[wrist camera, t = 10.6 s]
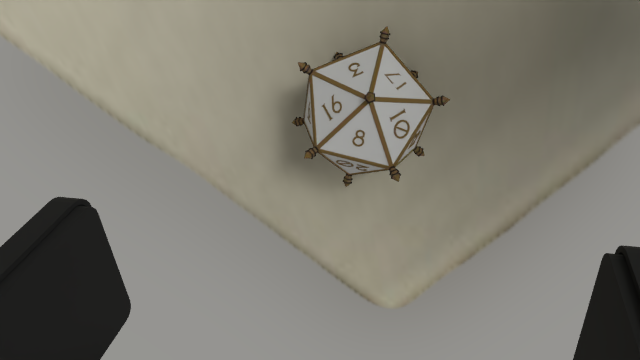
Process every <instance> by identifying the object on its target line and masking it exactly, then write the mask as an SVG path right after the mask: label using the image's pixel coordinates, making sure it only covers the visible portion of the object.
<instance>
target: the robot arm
mask: <svg viewBox="0 0 640 360" xmlns="http://www.w3.org/2000/svg"><path fill="white" fill-rule="evenodd" d="M130 309H131V304H130V299H129V297H128V294H127V291H126V289H125V286H124V283H123V280H122V278H121V275H120V272H119V269H118V267H117V264H116V261H115V259H114V256H113V253H112V250H111V247H110V245H109V242H108V239H107V237H106V234H105V231H104V229H103V226H102V223H101V220H100V218H99V215H98V213H97V211H96V209H94V208H93V207H91V205H90V203H89V202H88V201H87V200H84V199H76V198H65V197H57V198H54V199H52V200H51V201H50V202H48V203H47V204H46V205H45V206H44V207H43V208H42V209H41V210H40V211H39V212H38V213H37V214H36V215H34V216H33V217H32V218H31V219H30V220H29V221H28V222H27V223H26V224H25V225H24V226H23V227H22V228H20V229H19V230H18V231H17V232H16V233H15V234H14V235H13V236H12V237H11V238H10V239H9V240H8V241H6V242H5V243H4V244H3V245H2V246H1V247H0V360H100V359H101V357H102V356H103V354H104V353H105V351H106V350H107V349H108V347H109V345H110V344H111V343H112V341H113V340H114V338H115V337H116V335H117V334H118V332H119V331H120V329H121V327H122V326H123V325H124V323H125V322H126V320H127V318H128V317H129V314H130ZM573 360H640V247H632V246H619V247H618V249H617V250H616V252H615V254H609V253H606V254H604V256H603V258H602V261H601V265H600V268H599V272H598V275H597V278H596V282H595V285H594V289H593V292H592V296H591V299H590V303H589V306H588V310H587V313H586V317H585V320H584V324H583V327H582V331H581V334H580V338H579V341H578V344H577V348H576V352H575V355H574V358H573Z"/></svg>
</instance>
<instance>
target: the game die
mask: <svg viewBox="0 0 640 360" xmlns="http://www.w3.org/2000/svg"><path fill="white" fill-rule="evenodd" d="M380 33H381V36H379V37H380V42H379V43H376V44H374V45H371V46H369V47H366V48H364V49H361V50H359V51H356V52H354V53H351V54H349V55H347V56H342V55H343V54H342V53H338V52H336V55H335V56H334V58H335V60H334V61H332V62H329V63H327V64H324V65H322V66H320V67H317V68H315V69H311V68H310V66H309V65H307V63H306V62H305V63H300V62H298V65H299V67H300V71H303V73H307V74H308V75H309V79H308V87H307V95H306V102H305V110H304V118H301V117H299V118H297V117H296V119H295V120H294V121H293V122H292V123H293V124H295V125H296V126H299V125H300V126H301V125H303V124H305V126H306V129H307V131H308V134H309V136H310V139H311V141H312V144H313V146H314V147H313V148H310V149H309V150H307V151H305V152H306V154H305V157H304V158H311V159H313V157H314V156H316V153H317V152H318V153H319V154H321V155H322V156H323V157H325V158H326V159H327V160H329V161H330V162H332V163H333V164H334V165H336V166H337V167H338V168H340V169H341V170H342V171H344V172H345V173H346V176H345V177H344V180H343V182H344V184H345V186H346V187H347V186H348V185H349V184H351V183H352V182H351V180H352V175H355V174H363V173H370V172H377V171H385V170H390V174H389V175H391V179H394V180H396V181H398V182H399V178H400V175H401V174H400V173H399V171H398V170H397V169H396V168H395V167H396V166H397V165H398V164H399V163H400V162H401V161H402V160H403V159H404V158H406V157H407V156H408V155H409V154H410V153H411V152H412V151H414V153H415V154H417V155H418V156H424V152H423V148H421V147H417V144H418V141H419V139H420V137H421V134H422V132H423V130H424V127H425V125H426V123H427V120H428V118H429V116H430V113H431V111H432V109H433V106H434V105H438V106H440V105H443V106H444V104H446V103H447V102H448V101H449V100H450V99H448V98H446V97H444V96H441V97H439V96H438V97H437V98H436V99H433V98H432V97H431V95H430V94H429V93H428V92H427V91H426V90H425V88H424V87H423V86H422V85H421V84H420V83H419V81H418V80H417V79H416V78H418V72H417V71H413V70H412V71H411V72H410V71H409V70H408V69H407V67H406V66H405V65H404V64H403V63H402V62H401V60H400V59H399V58H398V57H397V56H396V55H395V53H394V52H393V51H392V50H391V49H390V48H389V46H388V45H387V44H386V42H387V40H388V39H389V35H390V33H389V30H388V27H386V28H385V29H384V30H383V31H382V32H381V31H380Z"/></svg>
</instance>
